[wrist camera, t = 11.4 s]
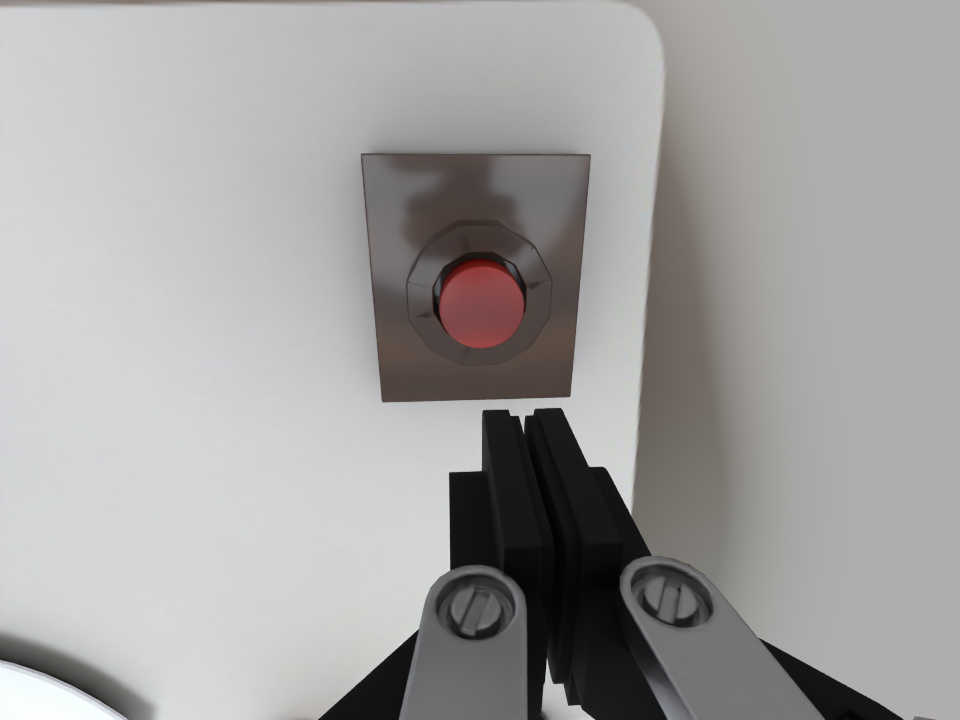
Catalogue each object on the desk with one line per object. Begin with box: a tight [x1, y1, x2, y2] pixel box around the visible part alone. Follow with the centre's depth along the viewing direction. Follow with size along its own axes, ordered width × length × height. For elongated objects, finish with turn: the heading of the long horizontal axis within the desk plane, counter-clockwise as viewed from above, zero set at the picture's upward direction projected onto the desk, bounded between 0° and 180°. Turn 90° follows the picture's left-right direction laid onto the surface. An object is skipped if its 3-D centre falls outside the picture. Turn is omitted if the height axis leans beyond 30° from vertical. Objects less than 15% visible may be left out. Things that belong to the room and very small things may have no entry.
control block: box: [361, 153, 591, 402], centre depth 24 cm, size 12×10×4 cm
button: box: [439, 258, 524, 348], centre depth 21 cm, size 4×4×2 cm
